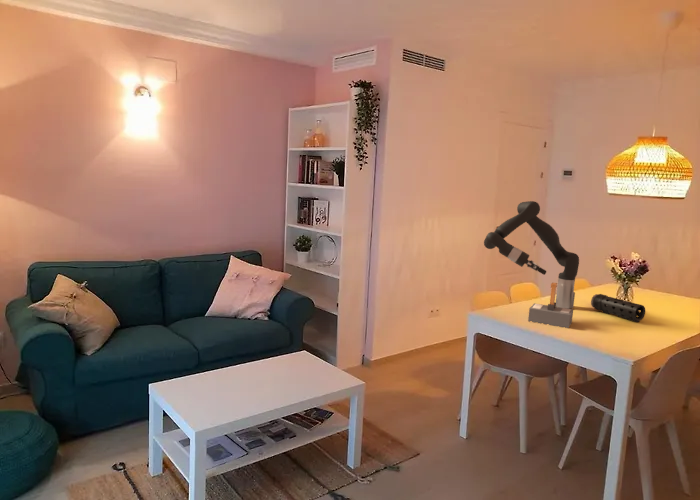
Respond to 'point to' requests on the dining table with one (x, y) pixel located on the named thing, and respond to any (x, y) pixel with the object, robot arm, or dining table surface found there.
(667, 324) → the dining table surface
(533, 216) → the robot arm
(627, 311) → the muzzle brake
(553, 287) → the lever
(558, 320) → the breaker housing
